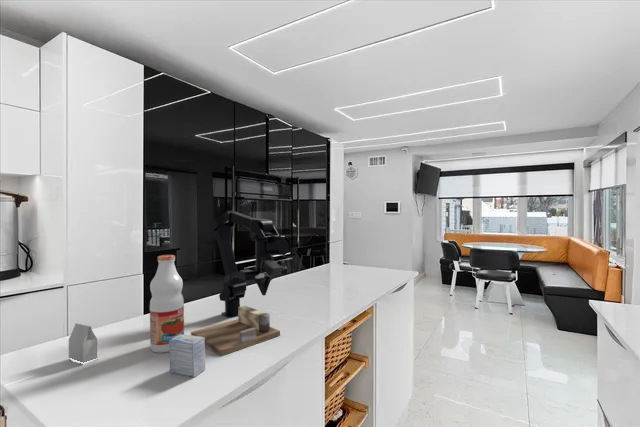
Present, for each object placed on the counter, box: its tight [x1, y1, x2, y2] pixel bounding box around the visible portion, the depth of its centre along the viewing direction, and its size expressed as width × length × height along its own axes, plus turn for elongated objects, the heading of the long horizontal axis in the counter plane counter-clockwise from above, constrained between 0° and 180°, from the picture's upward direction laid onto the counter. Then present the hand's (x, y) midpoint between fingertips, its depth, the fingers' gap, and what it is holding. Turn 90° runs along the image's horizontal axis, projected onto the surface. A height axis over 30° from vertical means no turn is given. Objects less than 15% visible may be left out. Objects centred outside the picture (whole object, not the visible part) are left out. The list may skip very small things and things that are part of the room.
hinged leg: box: [237, 305, 271, 332], centre depth 111 cm, size 16×4×5 cm, turn 45°
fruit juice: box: [149, 254, 185, 354], centre depth 99 cm, size 9×9×28 cm
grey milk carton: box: [68, 322, 98, 363], centre depth 90 cm, size 4×7×10 cm, turn 65°
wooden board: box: [190, 318, 281, 357], centre depth 107 cm, size 21×21×4 cm
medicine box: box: [168, 333, 206, 378], centre depth 83 cm, size 8×4×9 cm, turn 71°
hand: (263, 295), depth 119 cm, fingers closed
